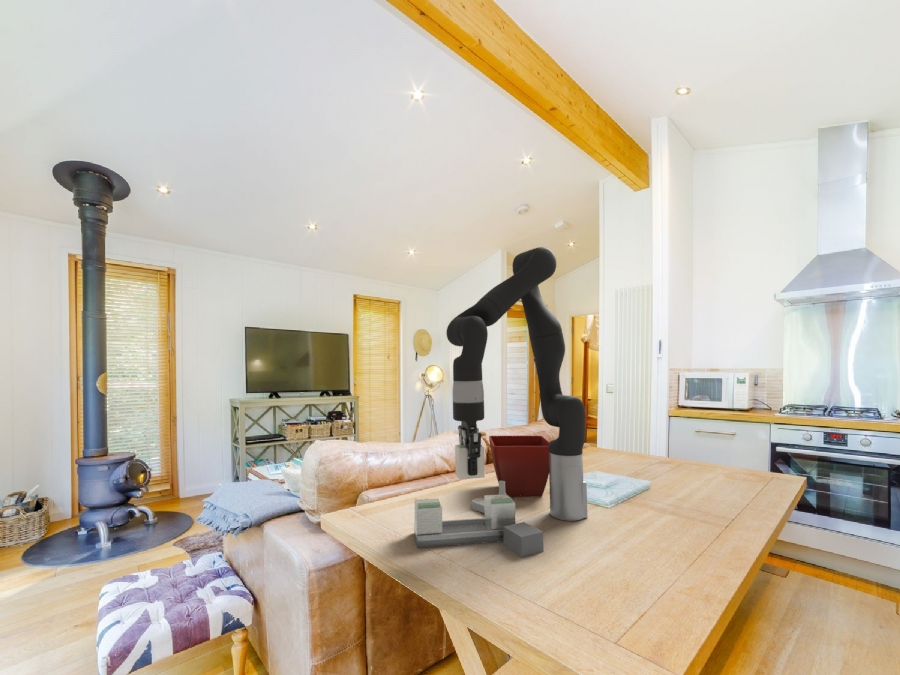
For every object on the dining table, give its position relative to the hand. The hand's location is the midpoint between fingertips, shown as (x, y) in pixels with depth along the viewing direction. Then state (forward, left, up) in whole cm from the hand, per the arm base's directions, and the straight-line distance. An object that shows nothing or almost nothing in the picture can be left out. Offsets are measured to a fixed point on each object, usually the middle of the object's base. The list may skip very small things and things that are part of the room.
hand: (470, 471), depth 100 cm
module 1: (0, 0, -1) cm, 1 cm away
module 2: (-11, +4, -17) cm, 21 cm away
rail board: (+1, -5, -17) cm, 18 cm away
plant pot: (-25, -38, -17) cm, 49 cm away
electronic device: (-10, -21, -17) cm, 29 cm away
